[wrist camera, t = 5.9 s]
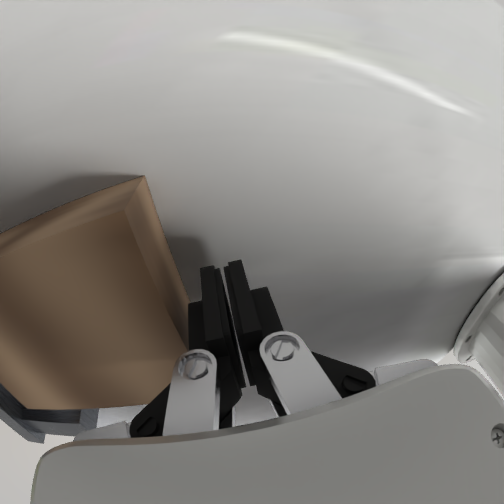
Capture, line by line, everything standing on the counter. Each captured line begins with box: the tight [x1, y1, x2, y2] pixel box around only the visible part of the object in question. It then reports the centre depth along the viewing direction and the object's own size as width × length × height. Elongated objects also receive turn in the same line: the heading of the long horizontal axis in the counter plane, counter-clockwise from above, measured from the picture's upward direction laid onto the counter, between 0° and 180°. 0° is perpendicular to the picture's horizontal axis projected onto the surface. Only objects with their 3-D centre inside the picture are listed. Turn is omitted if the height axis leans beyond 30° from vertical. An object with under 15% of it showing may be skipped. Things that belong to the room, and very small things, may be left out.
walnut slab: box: [0, 176, 190, 410], centre depth 11 cm, size 12×9×4 cm
